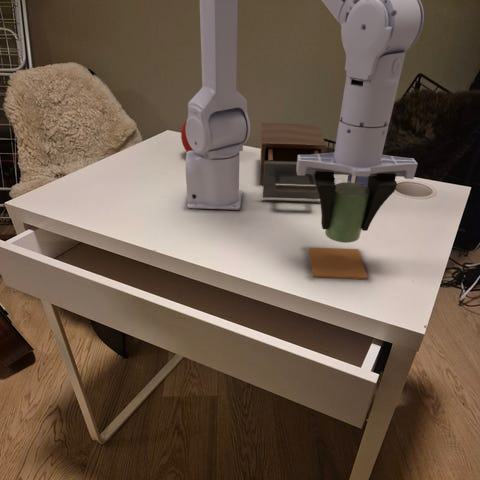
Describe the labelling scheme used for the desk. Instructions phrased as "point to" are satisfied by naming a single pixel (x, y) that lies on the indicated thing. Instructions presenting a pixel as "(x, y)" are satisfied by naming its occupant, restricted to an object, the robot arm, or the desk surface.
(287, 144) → the cabinet
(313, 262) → the coaster
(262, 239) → the desk surface
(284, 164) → the drawer
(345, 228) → the tin
